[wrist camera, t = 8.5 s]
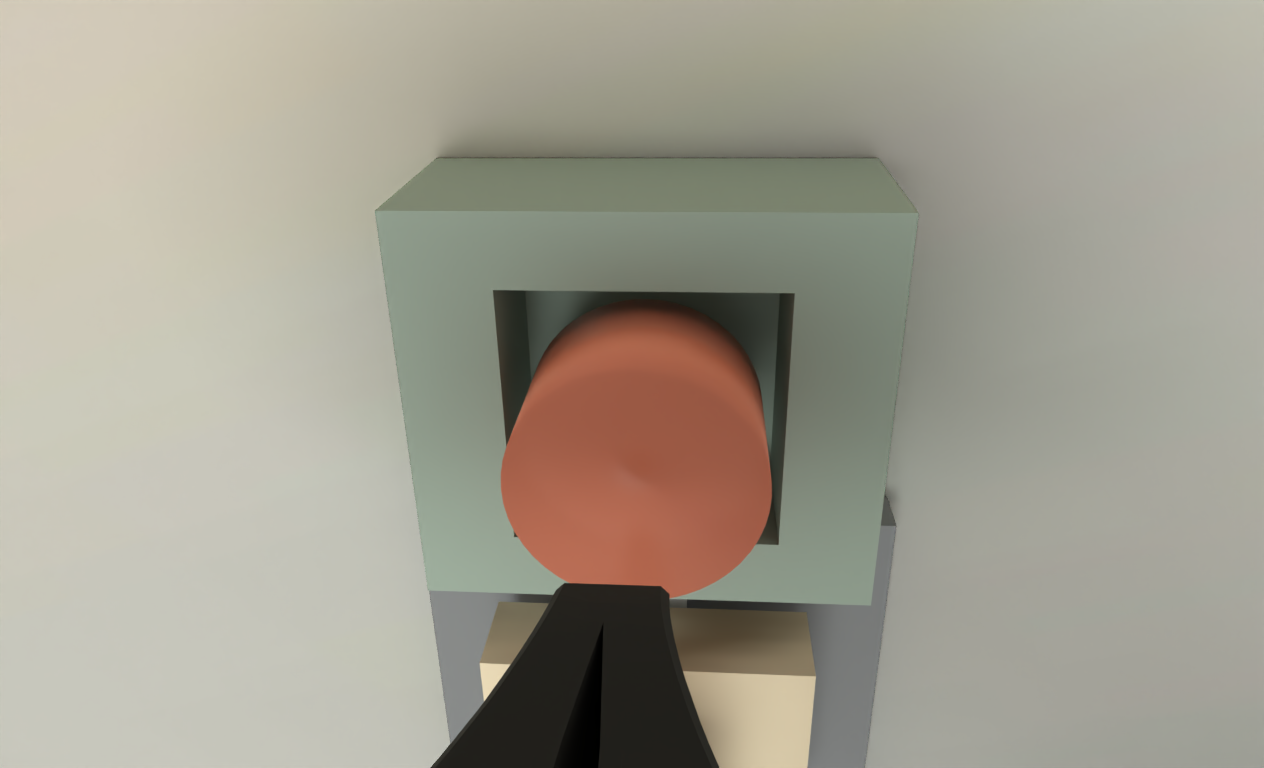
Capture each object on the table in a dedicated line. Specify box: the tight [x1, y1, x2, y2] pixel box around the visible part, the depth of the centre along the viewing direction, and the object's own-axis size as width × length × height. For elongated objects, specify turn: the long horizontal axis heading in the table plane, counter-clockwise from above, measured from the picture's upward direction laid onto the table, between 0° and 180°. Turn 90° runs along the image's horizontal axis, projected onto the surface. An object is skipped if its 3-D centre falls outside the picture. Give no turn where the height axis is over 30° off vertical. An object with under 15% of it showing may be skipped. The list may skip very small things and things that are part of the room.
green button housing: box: [375, 158, 919, 606], centre depth 19 cm, size 9×8×4 cm
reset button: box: [501, 299, 772, 598], centre depth 16 cm, size 4×4×3 cm
